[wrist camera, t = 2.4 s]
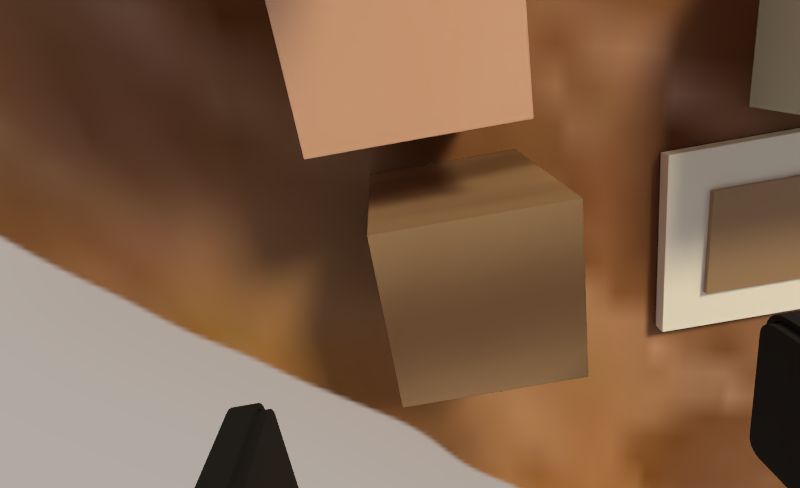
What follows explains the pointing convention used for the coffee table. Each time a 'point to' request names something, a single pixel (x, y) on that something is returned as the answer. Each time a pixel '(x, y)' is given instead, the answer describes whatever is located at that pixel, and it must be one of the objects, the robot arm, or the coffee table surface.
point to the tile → (729, 231)
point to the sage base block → (777, 57)
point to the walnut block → (479, 276)
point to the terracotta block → (400, 68)
